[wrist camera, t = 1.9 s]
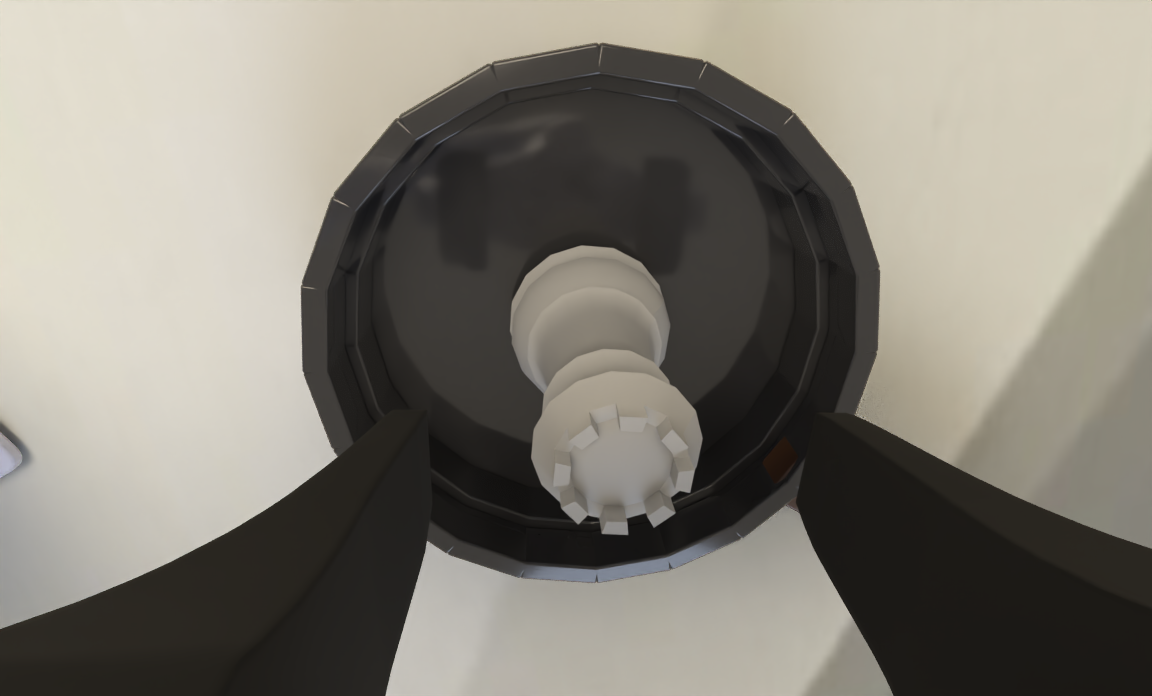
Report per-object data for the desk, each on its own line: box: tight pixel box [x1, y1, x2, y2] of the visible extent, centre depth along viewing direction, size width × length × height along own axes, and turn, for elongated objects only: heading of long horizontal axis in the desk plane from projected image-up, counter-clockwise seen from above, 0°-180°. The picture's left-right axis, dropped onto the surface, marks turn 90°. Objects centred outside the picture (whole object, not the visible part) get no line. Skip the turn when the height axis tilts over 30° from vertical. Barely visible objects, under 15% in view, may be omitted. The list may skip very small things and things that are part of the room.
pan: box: [301, 43, 880, 583], centre depth 17 cm, size 14×14×4 cm
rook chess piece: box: [510, 245, 703, 535], centre depth 15 cm, size 4×4×8 cm
